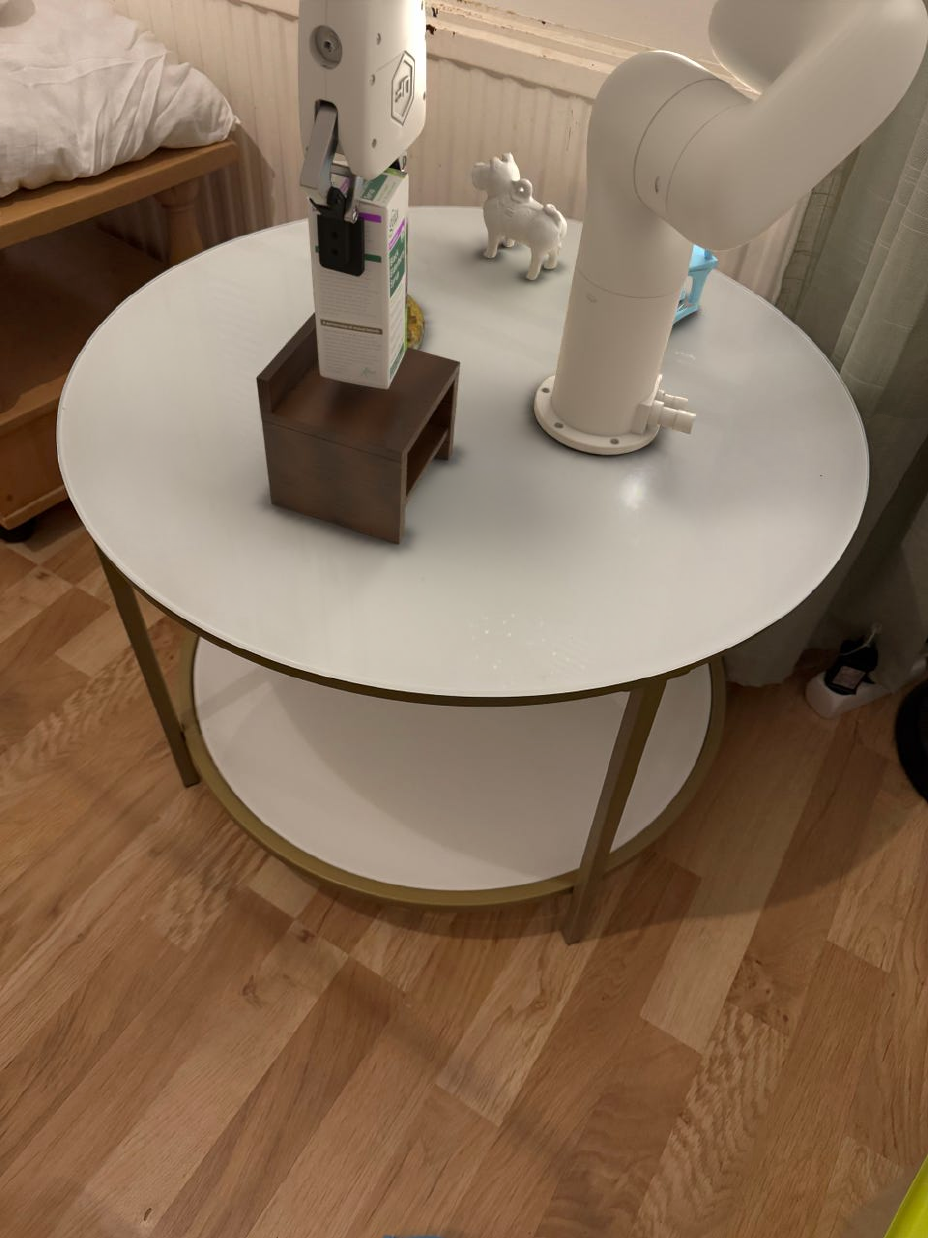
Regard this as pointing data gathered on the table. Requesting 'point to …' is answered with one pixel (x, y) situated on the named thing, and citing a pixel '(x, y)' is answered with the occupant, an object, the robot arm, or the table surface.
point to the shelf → (353, 435)
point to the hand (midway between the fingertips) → (362, 244)
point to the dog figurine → (517, 214)
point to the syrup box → (366, 289)
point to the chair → (697, 278)
